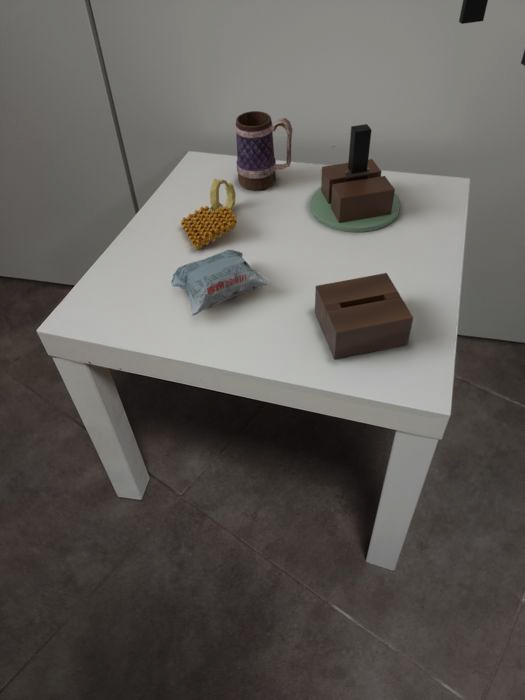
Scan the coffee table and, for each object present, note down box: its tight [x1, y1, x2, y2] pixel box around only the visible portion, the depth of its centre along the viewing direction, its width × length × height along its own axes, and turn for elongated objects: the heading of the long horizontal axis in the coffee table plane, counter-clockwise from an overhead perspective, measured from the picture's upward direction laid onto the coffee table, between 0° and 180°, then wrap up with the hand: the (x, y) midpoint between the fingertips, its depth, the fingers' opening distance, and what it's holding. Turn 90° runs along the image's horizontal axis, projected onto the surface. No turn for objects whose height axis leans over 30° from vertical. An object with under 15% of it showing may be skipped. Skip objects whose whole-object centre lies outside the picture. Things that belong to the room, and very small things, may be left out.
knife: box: [345, 123, 372, 182], centre depth 88 cm, size 2×4×13 cm, turn 102°
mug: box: [235, 110, 293, 191], centre depth 95 cm, size 10×7×12 cm
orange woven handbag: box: [180, 178, 238, 250], centre depth 89 cm, size 7×10×15 cm
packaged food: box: [171, 249, 270, 317], centre depth 78 cm, size 9×12×5 cm
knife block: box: [314, 272, 414, 360], centre depth 71 cm, size 9×10×5 cm
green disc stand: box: [310, 158, 401, 233], centre depth 91 cm, size 15×15×5 cm
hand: (500, 41), depth 59 cm, fingers open, 13 cm apart
